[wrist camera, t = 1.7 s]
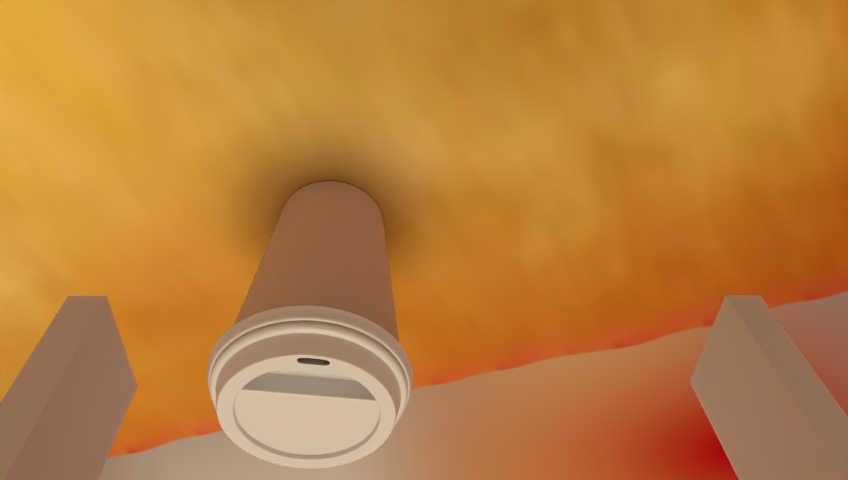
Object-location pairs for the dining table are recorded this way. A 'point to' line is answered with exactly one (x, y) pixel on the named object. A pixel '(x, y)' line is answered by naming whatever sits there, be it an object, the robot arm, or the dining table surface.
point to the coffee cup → (315, 338)
